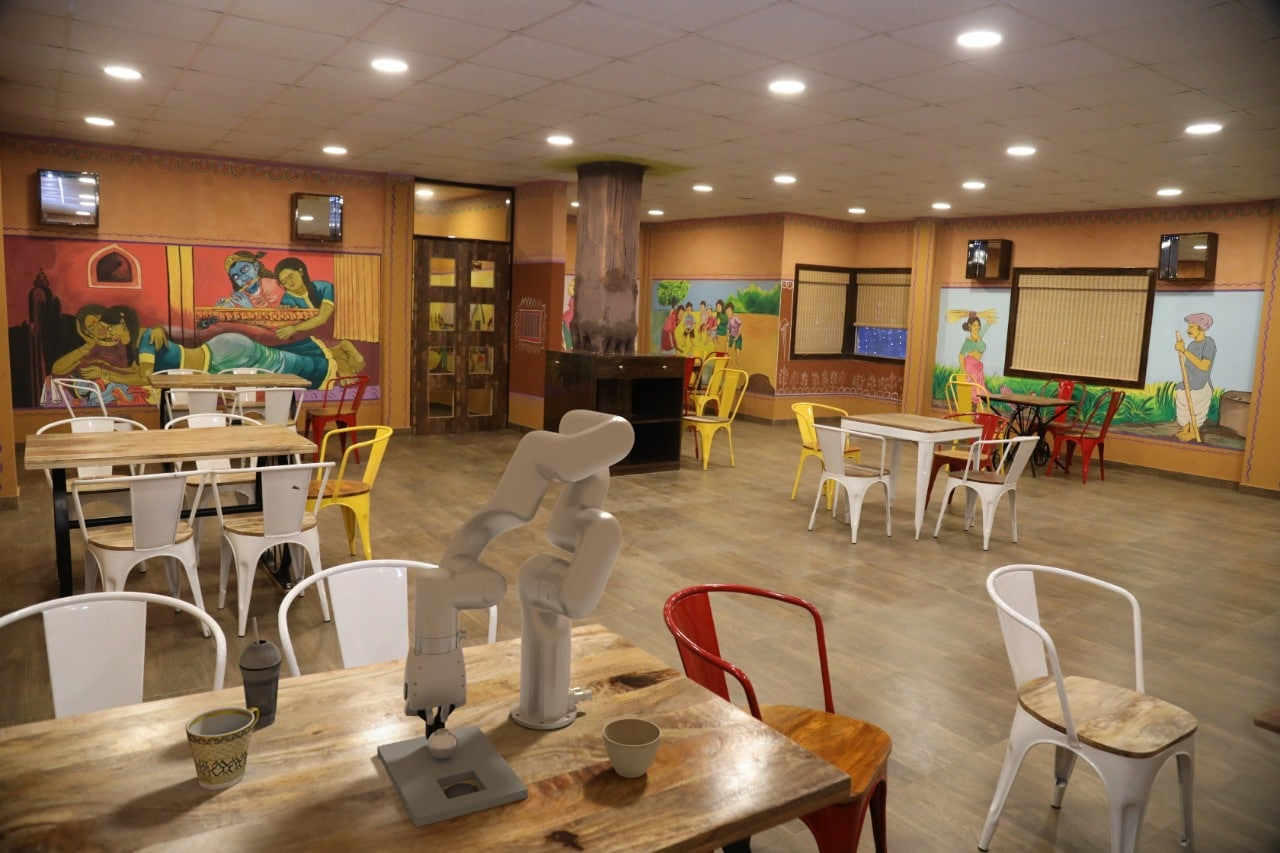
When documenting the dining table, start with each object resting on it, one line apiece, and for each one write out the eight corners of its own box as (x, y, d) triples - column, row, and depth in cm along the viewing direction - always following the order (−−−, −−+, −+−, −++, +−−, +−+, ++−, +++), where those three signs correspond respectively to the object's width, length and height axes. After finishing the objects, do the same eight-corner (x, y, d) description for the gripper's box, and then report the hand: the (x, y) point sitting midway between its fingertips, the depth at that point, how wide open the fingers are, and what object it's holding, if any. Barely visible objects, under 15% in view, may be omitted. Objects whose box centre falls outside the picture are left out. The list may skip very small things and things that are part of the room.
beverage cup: (267, 733, 156) (265, 627, 154) (231, 728, 158) (228, 622, 155) (291, 715, 163) (289, 613, 161) (256, 710, 165) (254, 609, 162)
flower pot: (666, 762, 152) (668, 723, 151) (648, 791, 142) (650, 750, 141) (613, 751, 155) (615, 713, 154) (592, 778, 146) (593, 738, 145)
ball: (451, 743, 151) (453, 719, 150) (461, 761, 147) (462, 736, 146) (423, 750, 149) (424, 725, 147) (432, 769, 145) (433, 743, 143)
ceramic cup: (221, 801, 135) (219, 741, 133) (172, 787, 138) (170, 728, 137) (282, 762, 147) (281, 706, 146) (236, 750, 150) (235, 695, 149)
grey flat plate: (476, 732, 160) (476, 724, 159) (527, 797, 139) (527, 789, 139) (377, 754, 151) (377, 746, 150) (416, 827, 130) (416, 818, 130)
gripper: (471, 627, 155) (469, 724, 158) (386, 639, 148) (386, 741, 151) (485, 642, 149) (483, 742, 151) (397, 655, 142) (397, 761, 144)
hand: (435, 741), depth 151 cm, fingers closed
